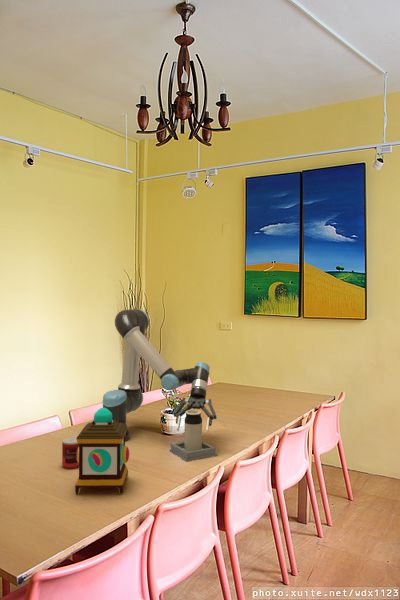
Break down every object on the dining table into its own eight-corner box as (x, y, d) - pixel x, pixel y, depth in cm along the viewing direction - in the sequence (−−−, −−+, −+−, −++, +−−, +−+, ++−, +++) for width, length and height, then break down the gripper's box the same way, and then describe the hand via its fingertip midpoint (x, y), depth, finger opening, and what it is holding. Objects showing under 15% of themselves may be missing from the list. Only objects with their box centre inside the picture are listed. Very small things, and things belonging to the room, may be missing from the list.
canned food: (73, 461, 219) (73, 436, 219) (84, 465, 214) (85, 440, 214) (58, 466, 213) (58, 440, 213) (69, 470, 208) (69, 444, 208)
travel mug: (186, 454, 227) (187, 414, 226) (182, 448, 234) (182, 410, 234) (203, 452, 229) (204, 413, 228) (199, 447, 237) (199, 409, 236)
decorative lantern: (131, 476, 203) (132, 401, 202) (126, 496, 183) (126, 414, 183) (81, 476, 202) (81, 401, 202) (70, 496, 182) (70, 414, 182)
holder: (186, 461, 221) (186, 453, 220) (169, 451, 234) (169, 443, 234) (217, 455, 229) (217, 448, 229) (199, 446, 242) (199, 439, 242)
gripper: (225, 396, 244) (220, 436, 229) (174, 394, 248) (166, 433, 234) (223, 387, 239) (218, 428, 224) (172, 385, 243) (164, 424, 229)
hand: (192, 430), depth 229 cm, fingers open, 13 cm apart
